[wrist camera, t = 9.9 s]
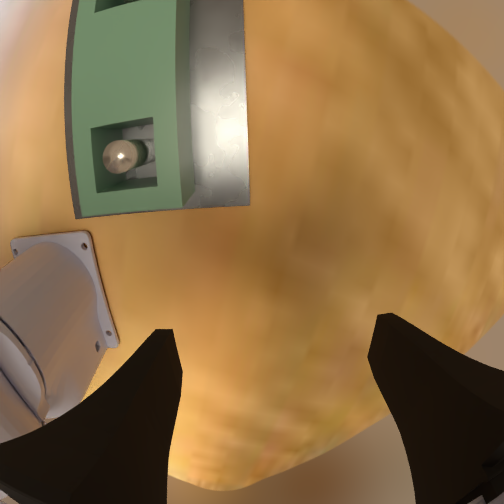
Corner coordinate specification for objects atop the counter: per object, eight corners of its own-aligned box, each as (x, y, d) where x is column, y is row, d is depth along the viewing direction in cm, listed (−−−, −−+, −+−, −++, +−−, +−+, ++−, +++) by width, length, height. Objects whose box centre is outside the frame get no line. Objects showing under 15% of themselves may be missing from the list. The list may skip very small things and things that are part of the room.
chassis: (249, 201, 17) (255, 230, 12) (82, 215, 17) (35, 245, 12) (241, -34, 11) (243, -83, 6) (80, -3, 11) (40, -32, 6)
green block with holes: (195, 191, 16) (182, 207, 12) (113, 198, 16) (82, 216, 12) (191, -27, 11) (181, -61, 7) (112, -11, 10) (87, -37, 7)
